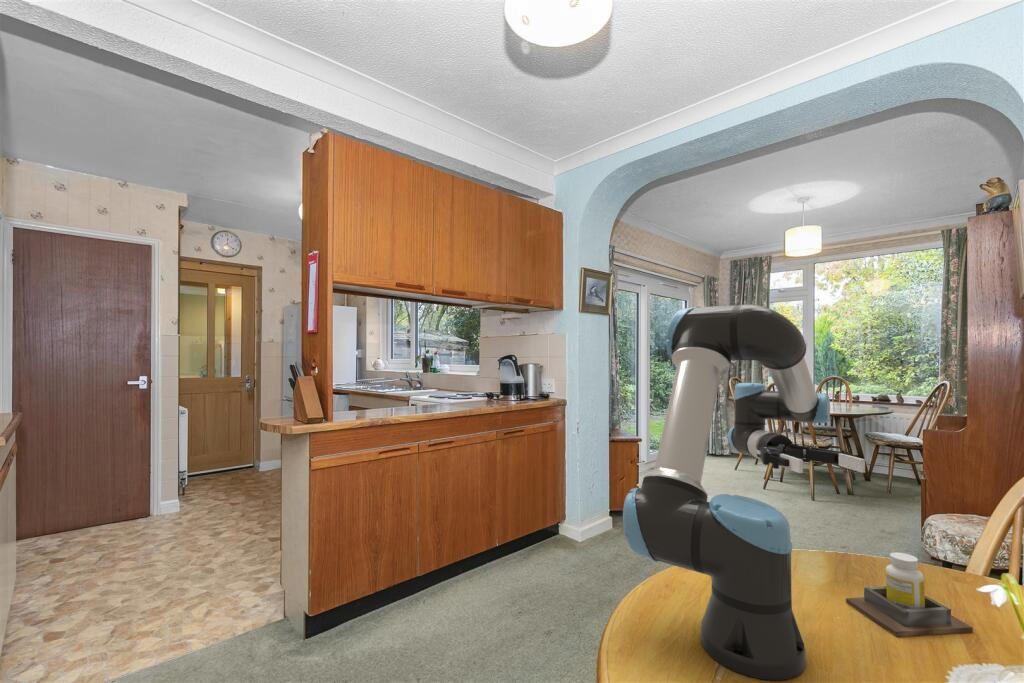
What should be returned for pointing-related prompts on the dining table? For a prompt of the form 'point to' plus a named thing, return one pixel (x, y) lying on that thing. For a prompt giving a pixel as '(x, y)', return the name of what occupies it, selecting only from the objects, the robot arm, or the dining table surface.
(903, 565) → the supplement bottle
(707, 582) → the dining table surface
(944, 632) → the collar holder
